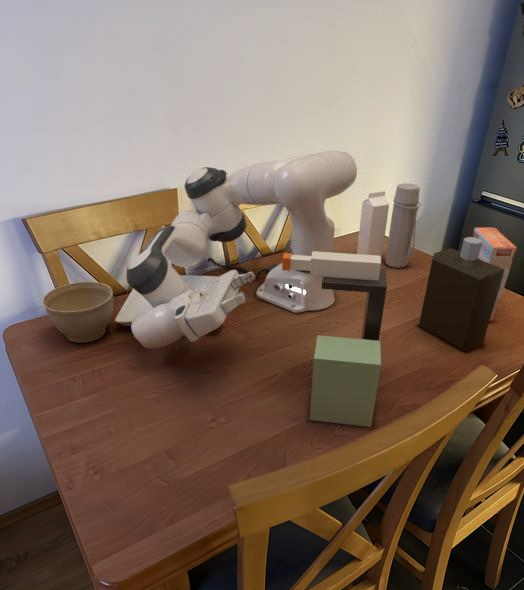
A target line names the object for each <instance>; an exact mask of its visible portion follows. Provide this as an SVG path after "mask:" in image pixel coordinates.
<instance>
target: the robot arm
mask: <svg viewBox="0 0 524 590" xmlns="http://www.w3.org/2000/svg"><path fill="white" fill-rule="evenodd" d="M357 167H358V166H357V164H356V161H355V159H354V158H353V156H352V155H351V154H350V153H348V152H347V151H341V150H326V151H320V152H314V153H310V154H304V155H300V156H294V157H289V158H284V159H279V160H274V161H273V160H272V161H266V162H259V163H254V164H250V165H247V166H244V167H242V168H240V169H238V170H236V171H235V172H233V173H232V174H231V175H229V176H228V174H227V171H226V170H224V169H218V168H215V167H210V166H204V167H201V168H198V169H197V170H195V171H193V172H192V173H191V174H190V175H189V176H188V177H187V178H186V180H185V182H184V190H185V194H186V195H187V198H189V199H190V201H191V203H192V205H193V207H194V209H195V210H194V209H186V210H183V211H180V213H179V214H177V216H176V217H175V218H174V220H173V221H172V222H171V224H169V225H166V226H164V227H162V228H161V229H159V230H158V231H156V233H154V234H153V236H151V238H150V239H149V240H148V242H147V243H146V245H145V246H144V247H143V249H142V250H141V251H140V252H139V254H137V255H136V256H135V257H134V259H132V260H131V261H130V263H129V264H128V266H127V267H126V282H127V284H128V286H130V287H131V288H132V290H133V289H135V290H136V291H137V292H138V293H140V294H141V295H142V296H143V297H144V298H145V299H146V300H147V302H148V303H149V304H150V305H151V306H152V307H153V308H152V309H150V310H149V311H147V312H145V313H144V314H142V315H141V316H139V317H138V318H136V319H135V320H134V321H133V322H132V324H131V326H130V328H131V332H132V335H133V337H134V339H135V340H136V341H137V342H138V343H139V344H140V345H141V346H142V347H143V348H145V349H147V350H154V349H155V350H156V349H158V348H162V347H165V346H168V345H171V344H173V343H175V342H177V341H179V340H181V339H182V338H183V337H186V338H187V339H188V340H189V342H190V343H193V342H196V341H198V340H199V339H200V338H201V337H203V336H205V335H207V334H209V333H212V332H213V331H215V330H217V329H219V328H220V327H221V326H222V325H224V323H225V321H226V319H227V317H228V314H229V313H230V312H232V311H234V310H235V309H236V308H237V307H238V306H239V305H242V304H244V303H246V300H247V295H246V294H245V292H243V291H240V289H241V287H242V286H243V285H246V284H247V285H249V284H251V283H253V282H254V281H255V279H259V278H260V276H261V274H262V273H264V272H265V280H264V282H263V283H262V284H261V285H259V287H257V290H256V298H258V299H259V300H263V301H265V302H268V303H271V304H273V305H275V306H277V307H280V308H283V309H285V310H287V311H290V312H292V313H295V314H298V313H304V312H307V311H309V312H310V311H320V310H324V309H327V308H329V307H331V306H332V305H333V304H334V303H335V301H336V298H335V292H334V290H330V289H322V279H323V277H320V276H310V271H305V270H291V269H290V271H285V270H282V262H280V263H279V264H276V263H274V264H272V265H270V266H268V267H266V268H262V269H260V270H259V271H258V273H257V275H255V274H254V272H253V271H249V270H247V269H246V268H244V267H241V266H237V265H236V266H235V265H227V264H220V263H217V261H216V260H215V259H214V258H212V257H208V258H207V260H206V261H207V262H210V261H211V262H212V264H214V266H217V267H218V268H219V267H220V268H224V269H225V268H226V269H231V270H229V271H227V272H225V273H223V274H222V275H219V276H218V278H216V279H214V280H213V281H211V282H210V283H209V284H208V285H207V287H206V289H205V290H204V291H201V292H200V291H199V290H197V289H192V288H191V287H190V286H189V285H188V284H187V283H186V281H185V280H184V279H183V278H182V277H181V276H180V275H181V274H180V273H178V271H177V270H176V269H175V267H174V266H173V265H175V266H176V267H181V268H189V267H194V266H196V265H198V264H199V263H200V262H201V261H202V260H203V259H204V258H205V254H206V253H207V248H208V244H209V243H208V242H209V241H211V242H219V243H230V242H233V241H235V240H237V239H239V238H240V237H241V236H242V235H243V234H244V233H245V231H246V229H247V226H248V224H247V219H246V216H245V214H244V213H243V212H242V210H241V208H240V205H248V206H255V207H257V206H258V207H259V206H260V207H261V206H275V205H282V206H283V207H285V209H286V210H287V212H288V215H289V219H290V221H291V246H290V248H289V249H287V250H286V251H285V253H292V255H303V256H312V252H313V251H316V252H331V253H335V252H334V243H335V231H336V226H335V223H334V221H333V220H332V219H331V218H330V217H329V216H327V213H326V209H325V207H326V206H325V204H326V203H325V202H326V200H328V199H331V198H334V197H336V196H339V195H341V194H343V193H344V192H345V191H347V190H348V189H349V188H351V186H353V185H354V183H355V182H356V179H357V174H358V168H357ZM283 255H284V253H283V254H282V256H283ZM238 270H241V271H243V272H244V273H242V274H240V273H239V272H238ZM239 291H240V292H239Z"/></svg>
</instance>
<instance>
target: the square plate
mask: <svg viewBox="0 0 524 590" xmlns="http://www.w3.org/2000/svg"><path fill="white" fill-rule="evenodd" d="M179 275H180V276H181V277H182V278H183V279H184V280H185V281H186V283H187V284H188V285H189V286H190V287H191V288H192V289H197V290H199V291H200V292H201V291H204V290H205V289H206V287H207V285H208V284H209V283H210V282H211V281H213V280H214V279H216V278H218V277H219V276H214V275H192V274H191V275H188V274H179ZM152 308H153V307H152V306H151V305H150V304H149V303H148V302H147V300H146V299H145V298H144V297H143V296H142V295H141V294H140V293H138V292H137V291H136V290H135V289H133V288H132V290H131V291H130V293H129V295H128V297H127V298H126V299H125V301H124V303H123V305H122V306H121V308H120V310H119V311H118V314H117V315H116V317H115V319H114V322H115V323H117V324H119V325H122V326H127V327H131V324H132V322H133V321H134V320H135V319H136V318H138V317H139V316H141V315H142V314H144V313H145V312H147V311H149V310H150V309H152Z"/></svg>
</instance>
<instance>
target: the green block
mask: <svg viewBox="0 0 524 590" xmlns="http://www.w3.org/2000/svg"><path fill="white" fill-rule="evenodd" d="M314 348H315V349H314V353H313V363H312V364H313V365H312V378H311V379H312V381H311V393H310V394H311V396H310V410H309V421H315V422H323V423H332V424H333V423H334V424H339V425H340V424H341V425H351V426H358V427H367V428H372V424H373V417H374V412H375V405H376V399H377V392H378V387H379V381H380V374H381V368H382V351H381V349H382V348H381V340H379V341H376V340H365V339H361V338H353V337H342V336H332V335H331V336H329V335H321V334H320V335H319V334H318V335H317V337H316V342H315V347H314Z"/></svg>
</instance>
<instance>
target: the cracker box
mask: <svg viewBox="0 0 524 590" xmlns="http://www.w3.org/2000/svg"><path fill="white" fill-rule="evenodd" d="M471 237H474V238H478V239H481V240H482V246H481V250H480V253H479V257H478V258H479V259H480V260H482V261H485V262H487V263H490V264H492V265H495V266H497V267H500V268H502V269H504V274H503V278H502V281H501V284H500V288H499V291H498V294H497V298H496V301H495V305H494V308H493V311H492V315H491V318H490V321H489V322H494V321H495V318H496V315H497V312H498V308H499V305H500V302H501V298H502V295H503V293H504V289H505V286H506V283H507V279H508V276H509V273H510V270H511V267H512V265H513V261H514V257H515V254H516V251H517V246H515V244H514V243H512V242H511V240H509V239H508V238H507V237H506V236H505V235H503V233H501V231H499V230H498V228H496V227H480V226H479V227H474V228H473V231H472V236H471Z"/></svg>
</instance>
